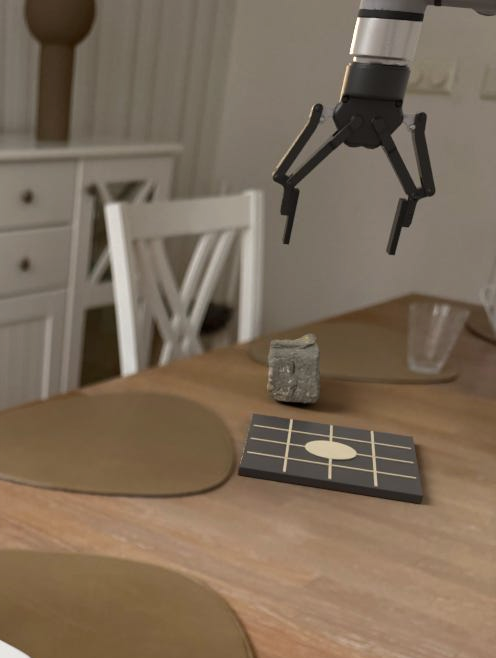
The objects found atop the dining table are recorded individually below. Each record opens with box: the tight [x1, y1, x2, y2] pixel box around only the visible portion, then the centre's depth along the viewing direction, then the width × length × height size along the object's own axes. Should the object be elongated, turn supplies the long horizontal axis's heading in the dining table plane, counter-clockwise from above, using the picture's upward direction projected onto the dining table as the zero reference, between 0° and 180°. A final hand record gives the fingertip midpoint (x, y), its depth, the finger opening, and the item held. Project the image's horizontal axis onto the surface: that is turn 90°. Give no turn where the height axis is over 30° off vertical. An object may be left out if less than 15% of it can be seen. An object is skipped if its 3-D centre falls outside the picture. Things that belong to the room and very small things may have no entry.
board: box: [237, 412, 424, 505], centre depth 117 cm, size 20×20×1 cm
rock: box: [266, 333, 321, 404], centre depth 138 cm, size 17×7×10 cm
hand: (337, 248), depth 129 cm, fingers open, 13 cm apart
